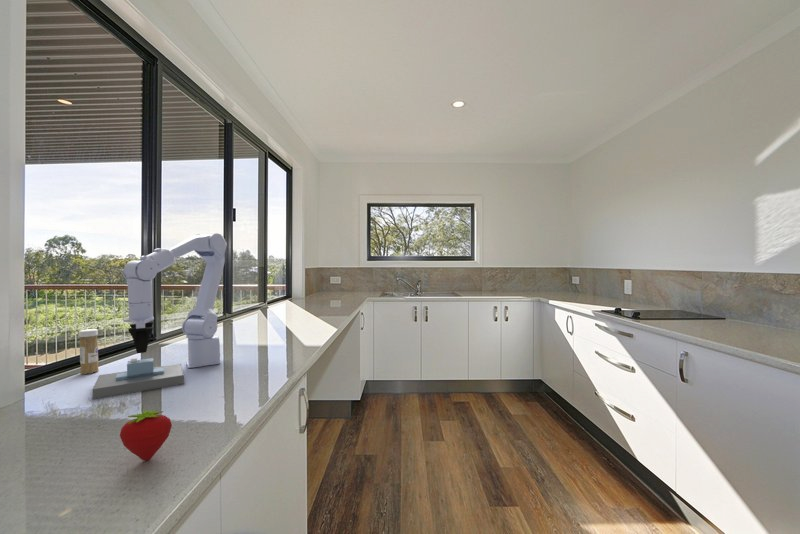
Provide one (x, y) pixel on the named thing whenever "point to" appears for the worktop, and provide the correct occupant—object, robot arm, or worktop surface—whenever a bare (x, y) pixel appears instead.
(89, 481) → the worktop surface
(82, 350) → the sprinkles bottle
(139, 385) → the mounting plate
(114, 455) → the worktop surface
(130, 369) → the block
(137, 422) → the strawberry
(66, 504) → the worktop surface
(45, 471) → the worktop surface
